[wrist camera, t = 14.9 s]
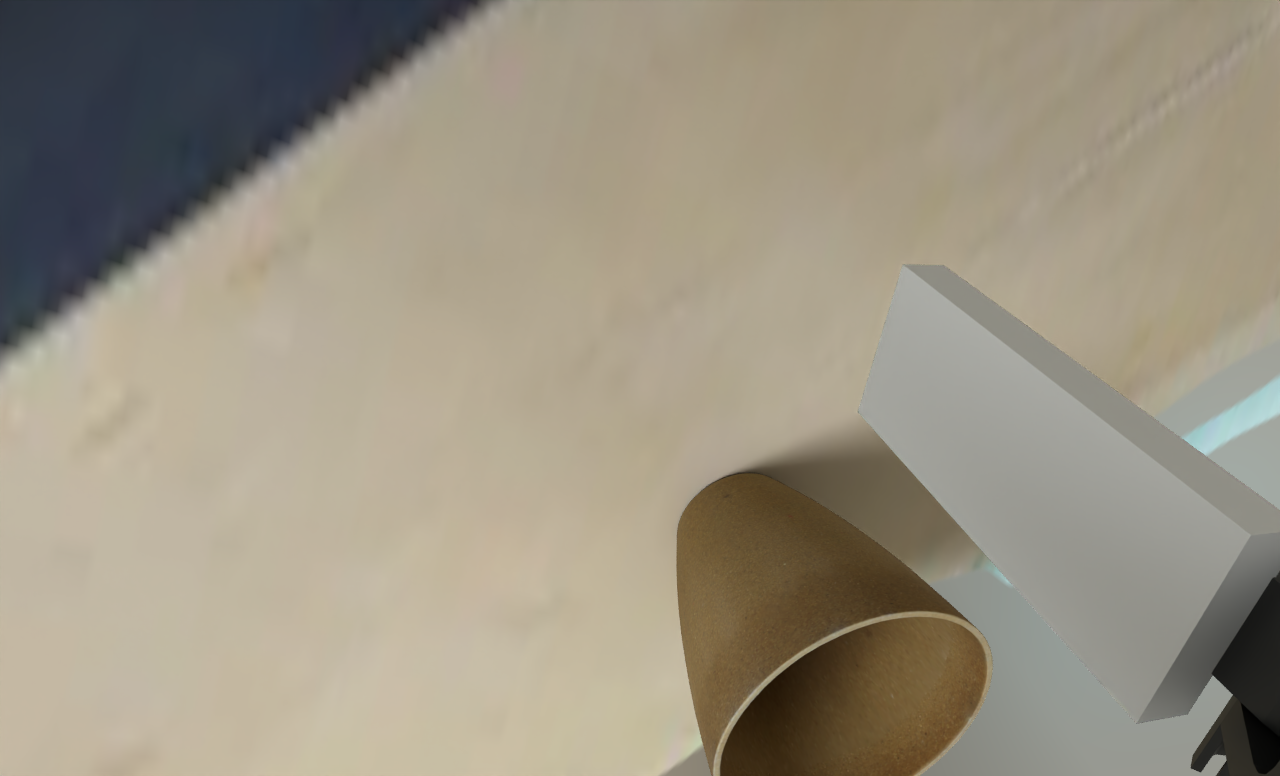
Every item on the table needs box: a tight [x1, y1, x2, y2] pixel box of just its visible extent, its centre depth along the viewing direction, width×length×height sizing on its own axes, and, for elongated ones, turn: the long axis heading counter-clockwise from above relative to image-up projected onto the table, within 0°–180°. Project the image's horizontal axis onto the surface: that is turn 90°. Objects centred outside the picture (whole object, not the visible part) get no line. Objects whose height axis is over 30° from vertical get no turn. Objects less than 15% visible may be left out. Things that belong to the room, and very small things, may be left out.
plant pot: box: [677, 473, 993, 776], centre depth 50 cm, size 15×15×16 cm
